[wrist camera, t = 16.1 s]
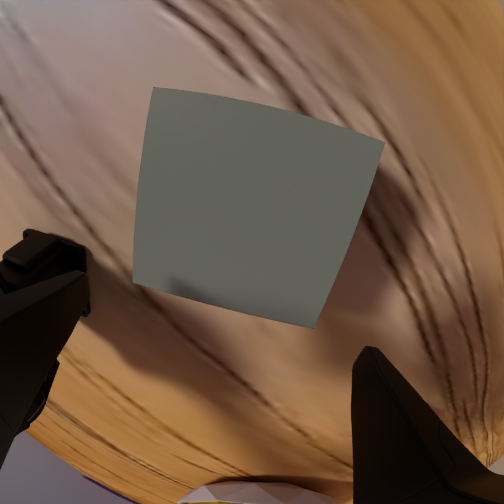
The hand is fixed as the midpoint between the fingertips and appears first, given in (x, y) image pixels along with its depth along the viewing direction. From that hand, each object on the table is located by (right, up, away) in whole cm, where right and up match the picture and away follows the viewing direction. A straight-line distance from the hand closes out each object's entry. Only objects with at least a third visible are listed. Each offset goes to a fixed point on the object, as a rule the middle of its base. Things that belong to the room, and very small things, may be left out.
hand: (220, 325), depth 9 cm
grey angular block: (+1, +6, +7) cm, 10 cm away
